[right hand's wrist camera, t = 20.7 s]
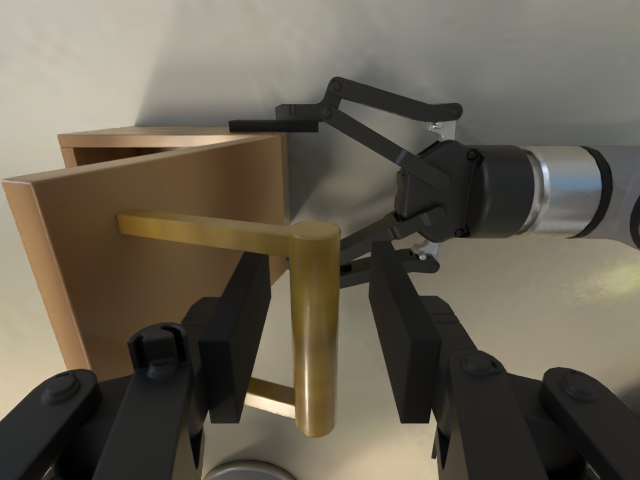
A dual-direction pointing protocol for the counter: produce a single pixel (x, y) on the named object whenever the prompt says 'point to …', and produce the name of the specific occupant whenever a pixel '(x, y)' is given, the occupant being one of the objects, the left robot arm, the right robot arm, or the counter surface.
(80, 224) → the lid
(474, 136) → the counter surface
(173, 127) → the chest
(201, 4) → the counter surface
